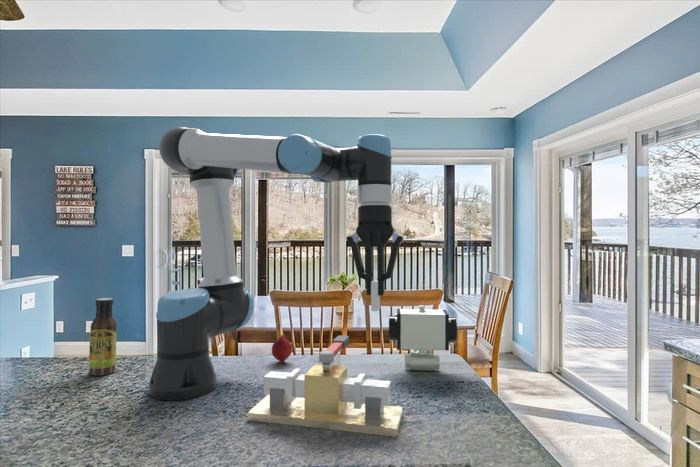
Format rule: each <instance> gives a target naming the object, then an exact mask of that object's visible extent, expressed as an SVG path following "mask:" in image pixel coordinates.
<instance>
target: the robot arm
mask: <svg viewBox="0 0 700 467" xmlns="http://www.w3.org/2000/svg"><path fill="white" fill-rule="evenodd" d="M158 147H159V148H158V149H159V154H160V158H161V159H162V161H163V163H164V164H165V166H167V167H168V168H169V169H171V170H173V171H175V172H178V173H181V174H185V175H188V176H189V185H190V186H191V187H192V188H193V190H195V191H196V202H197V214H198V225H199V226H198V227H199V236H200V247H201V259H202V260H201V261H202V272H203V279H202V281H200V283H199V284H198V286H197V287H193V288H192V287H191V288H185V289H179V290H173V291H170V292H167V293H165V294H163V295H162V296H160V297H159V299H158V302H157V306H156V308H157V310H156V314H155V318H156V351H157V352H156V361H155V364H154V367H153V371H152V373H151V377H150V380H149V383H148V395H149V397H151V398H153V399H156V400H160V401H180V400H188V399H194V398H197V397H200V396H204V395H206V394H207V393H210V392H211V391H213V390H214V389H216V387H217V374H216V371H215V369H214V366H213V362H212V358H211V357H210V352H209V351H210V349H209V348H210V339H211V338H214V337H217V336H220V335H222V334H223V335H224V334H227V333H234V332H235V331H237V330H239V329H241V328H243V327H244V326H246V325H247V324H248V322H250V320H251V318H252V316H253V312H254V308H255V307H254V306H255V305H254V299H253V296H252V293H249V291H248V289H246V288H245V287H244V282H243V279H242V278H240V277H239V276H238V275H237V264H236V262H237V261H236V252H235V251H236V250H235V242H234V241H235V240H234V230H233V229H234V228H233V217H232V207H231V206H232V205H231V194H230V188H232V186H233V185H235V177H236V176H237V175H238V174H239V172H238V171H239V170H247V171H248V170H249V171H259V172H261V171H263V172H274V173H283V174H284V173H285V174H291V175H292V174H293V175H302V176H309V177H310V178H311V179H312V180H313V181H314V182H316V183H326V184H328V183H334V182H345V181H357V203H358V204H359V205H360V206H358V208H357V214H358V216H357V220H358V222H357V223H358V224H357V227H356V229H355V232H354V233H353V234H351V235H348V236H346V242H347V243H348V245H349V246H350V248H351V252H352V257H353V260H354V263H355V269H356V273H357V277H358V278H359V279H363V280H364V281H365V282H366V284H365V285H366V295H367V296H370V311H371V312H378V311H380V309H381V305H380V304H381V301H380V300H381V296H384V294H385V281H386V280H388V279H390V278H393V273H394V270H395V265H396V261H397V257H398V254H399V249H400V246H401V244H402V242H403V241H404V236H403V235H400V234H398V232H395V228H394V227H393V224H392V223H393V221H392V219H393V218H392V215H393V214H392V211H393V210H392V209H393V208H392V206H390V204H391V203H392V199H393V198H392V158H393V156H392V147H391V139H390V138H389V137H388V136H386V135H383V134H378V133H377V134H376V133H375V134H374V133H371V134H364V135H361V136H359V137H358V139H357V143H356V146H353V147H344V148H343V147H342V148H335V147H333V146H331V145H328V144H326V143H323V142H320V141H318V140H316V139H314V138H312V137H310V136H307V135H302V134H299V133H295V134H294V133H293V134H291V135H288V136H285V137H284V136H270V135H269V136H268V135H266V136H265V135H246V134H245V135H244V134H225V133H223V134H222V133H207V132H204V131H202V130H200V129H199V128H193V127H192V128H191V127H185V126H176V127H174V128H173V127H172V128H170V129H168V130H167V131H166V132H165V133H164V134H163V135H162V137H161V139H160V142H159V146H158ZM391 237H392V239H391ZM359 238H360V240H361V242H362V243H363V244H364V245H365V266H364V262H363V258H362V254H361V250H360V247H359V244H358V243H359ZM390 239H391V242H392V246H391V251H390V254H389V259H388V264H387V267H386V273H385V249H386V248H385V247H386V244H387V243H388V241H389V240H390ZM374 247H376V256H377V257H376V258H377V261H376V262H377V263H376V264H377V265H376V266H377V268H376V269H377V278H376V279H375V280H374V278H375V277H374Z"/></svg>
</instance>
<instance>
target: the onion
mask: <svg viewBox="0 0 700 467" xmlns="http://www.w3.org/2000/svg"><path fill="white" fill-rule="evenodd" d="M285 336H286V335H285V334H281V335H280V336H279V338H277V339H275V341H274V342H273V343H272V345H271V354H272V356H273V357H274V359H275V360H277V361H279V362H280V363H284V362H286V360H287V359H288V358H290V356H291V355H292V353H293V352H292V351H293V346H292V343H291V342H290V341H289V339H287V338H286V337H285Z"/></svg>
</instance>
